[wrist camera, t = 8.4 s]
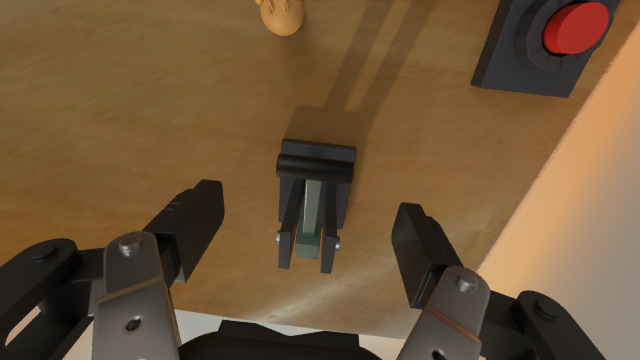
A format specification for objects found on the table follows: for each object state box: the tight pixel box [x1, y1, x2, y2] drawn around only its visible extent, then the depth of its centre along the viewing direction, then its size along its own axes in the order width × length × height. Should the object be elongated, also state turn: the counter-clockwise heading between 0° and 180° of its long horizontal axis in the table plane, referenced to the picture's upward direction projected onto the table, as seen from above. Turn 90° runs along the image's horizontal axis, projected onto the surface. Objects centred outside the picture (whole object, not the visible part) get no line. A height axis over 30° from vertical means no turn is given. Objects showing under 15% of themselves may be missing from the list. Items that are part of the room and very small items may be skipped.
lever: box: [276, 153, 354, 259], centre depth 21 cm, size 12×5×2 cm, turn 174°
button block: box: [471, 0, 621, 98], centre depth 24 cm, size 11×9×4 cm
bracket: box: [276, 139, 357, 274], centre depth 29 cm, size 12×9×13 cm
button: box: [543, 2, 609, 54], centre depth 21 cm, size 4×4×2 cm
